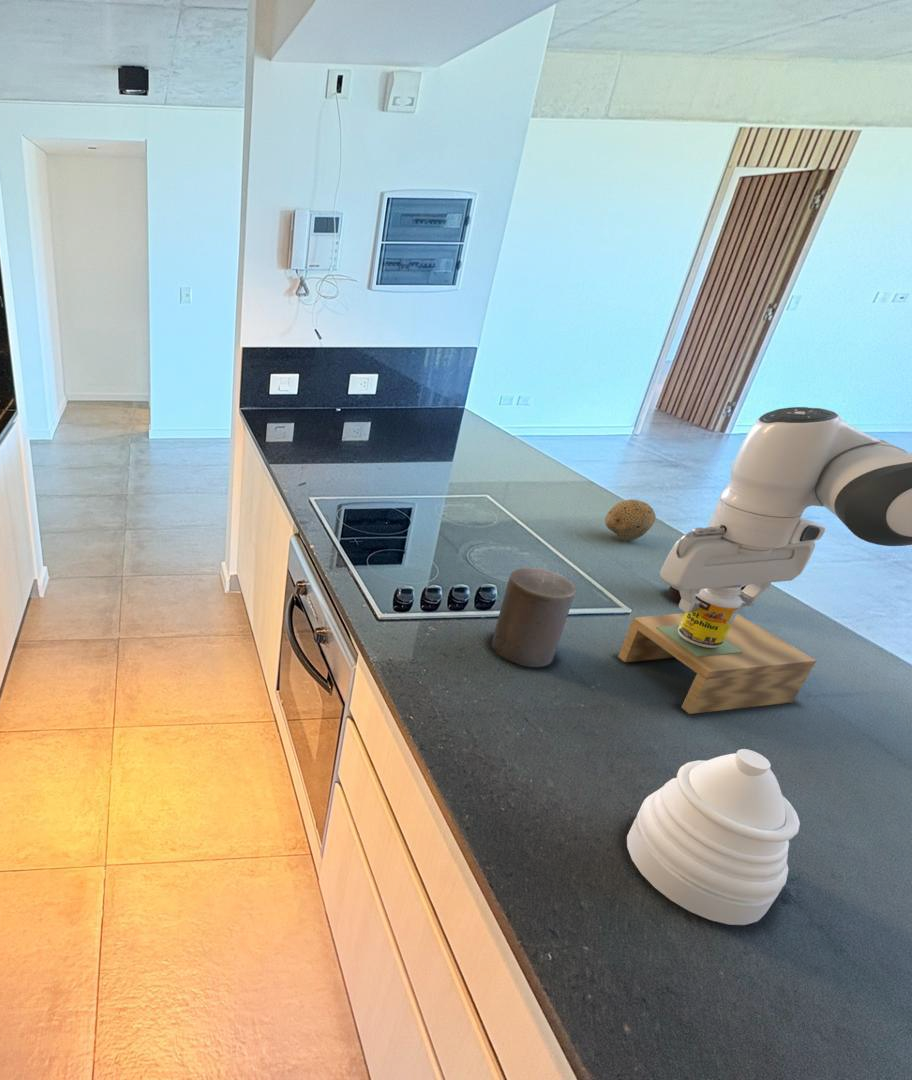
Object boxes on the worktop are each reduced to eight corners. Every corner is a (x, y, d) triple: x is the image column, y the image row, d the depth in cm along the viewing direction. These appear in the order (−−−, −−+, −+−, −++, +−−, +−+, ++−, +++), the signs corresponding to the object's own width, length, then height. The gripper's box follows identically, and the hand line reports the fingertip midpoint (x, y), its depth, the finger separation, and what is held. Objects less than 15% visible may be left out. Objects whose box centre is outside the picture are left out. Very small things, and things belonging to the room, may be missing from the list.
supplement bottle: (669, 635, 96) (693, 578, 91) (686, 624, 98) (711, 569, 94) (711, 654, 91) (739, 595, 87) (728, 642, 94) (755, 585, 89)
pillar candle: (480, 648, 106) (500, 572, 99) (507, 627, 112) (527, 554, 105) (538, 676, 99) (564, 597, 93) (563, 652, 105) (589, 576, 98)
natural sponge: (605, 545, 141) (619, 505, 137) (595, 529, 149) (607, 491, 144) (650, 550, 139) (666, 510, 134) (638, 534, 147) (652, 495, 142)
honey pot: (745, 951, 61) (829, 827, 53) (606, 856, 71) (660, 739, 63) (783, 879, 68) (863, 761, 60) (652, 802, 77) (706, 690, 69)
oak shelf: (711, 647, 106) (729, 607, 103) (792, 702, 94) (817, 659, 90) (618, 656, 104) (633, 616, 100) (689, 714, 92) (710, 670, 88)
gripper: (705, 539, 82) (670, 625, 88) (836, 528, 84) (793, 613, 91) (666, 519, 87) (636, 602, 94) (790, 510, 90) (753, 591, 96)
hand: (714, 607), depth 92 cm, fingers open, 8 cm apart
